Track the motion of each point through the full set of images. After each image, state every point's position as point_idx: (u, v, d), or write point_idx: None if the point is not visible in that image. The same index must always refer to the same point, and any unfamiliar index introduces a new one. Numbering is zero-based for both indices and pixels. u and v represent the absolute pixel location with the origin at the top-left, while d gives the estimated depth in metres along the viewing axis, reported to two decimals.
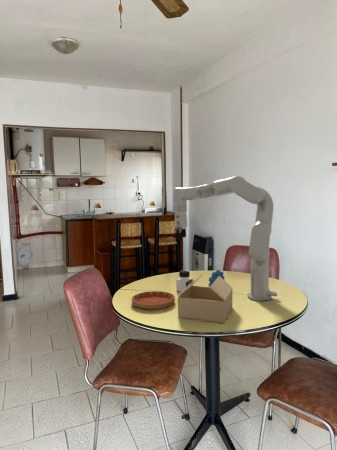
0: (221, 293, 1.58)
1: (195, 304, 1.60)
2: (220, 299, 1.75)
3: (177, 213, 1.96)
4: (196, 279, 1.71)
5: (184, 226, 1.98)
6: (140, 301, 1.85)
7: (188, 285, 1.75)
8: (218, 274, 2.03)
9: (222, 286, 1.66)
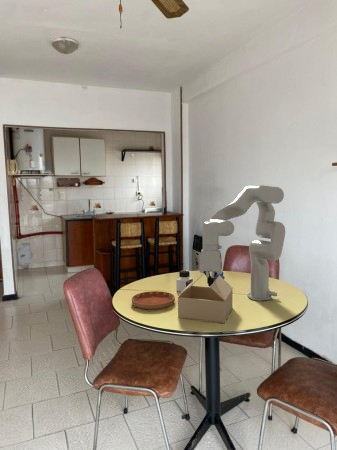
0: (221, 293, 1.58)
1: (195, 304, 1.60)
2: (220, 299, 1.75)
3: (219, 252, 1.63)
4: (196, 279, 1.71)
5: None
6: (140, 301, 1.85)
7: (188, 285, 1.75)
8: (218, 274, 2.03)
9: (222, 286, 1.65)
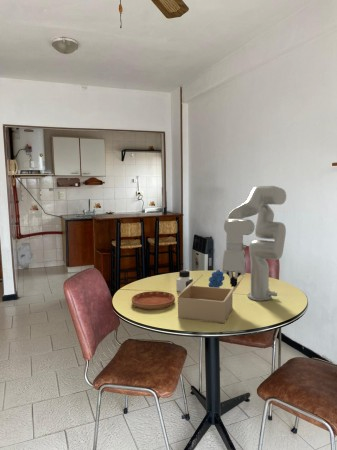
0: (230, 294, 1.57)
1: (195, 304, 1.60)
2: (220, 299, 1.75)
3: (244, 252, 1.58)
4: (196, 279, 1.71)
5: None
6: (140, 301, 1.85)
7: (188, 285, 1.75)
8: (218, 274, 2.03)
9: None
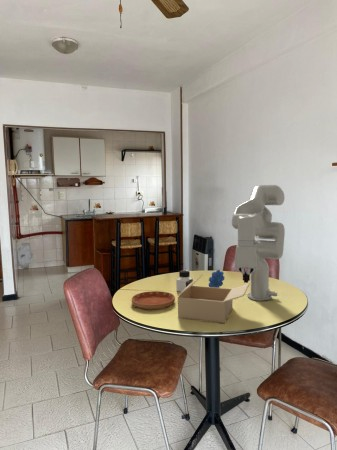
0: None
1: (195, 304, 1.60)
2: (220, 299, 1.75)
3: (256, 248, 1.57)
4: (196, 279, 1.71)
5: None
6: (140, 301, 1.85)
7: (188, 285, 1.75)
8: (218, 274, 2.03)
9: None
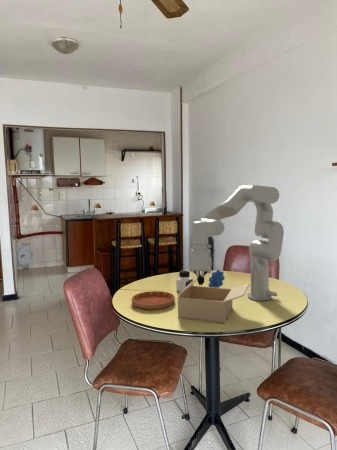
0: None
1: (195, 304, 1.60)
2: (220, 299, 1.75)
3: (209, 251, 1.64)
4: None
5: None
6: (140, 301, 1.85)
7: (188, 285, 1.75)
8: (218, 274, 2.03)
9: None
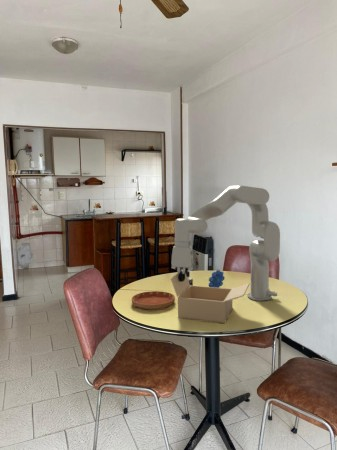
0: None
1: (195, 304, 1.60)
2: (220, 299, 1.75)
3: (191, 249, 1.67)
4: None
5: None
6: (140, 301, 1.85)
7: None
8: (218, 274, 2.03)
9: None
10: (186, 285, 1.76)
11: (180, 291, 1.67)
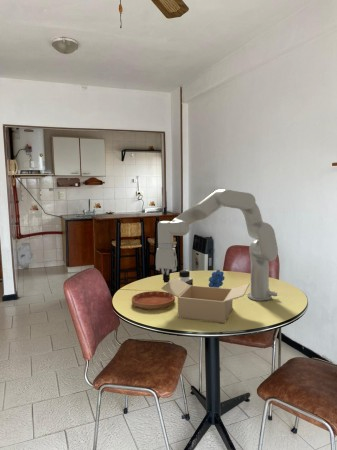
0: None
1: (195, 304, 1.60)
2: (220, 299, 1.75)
3: (174, 250, 1.71)
4: None
5: None
6: (140, 301, 1.85)
7: None
8: (218, 274, 2.03)
9: None
10: (185, 286, 1.76)
11: (179, 292, 1.67)
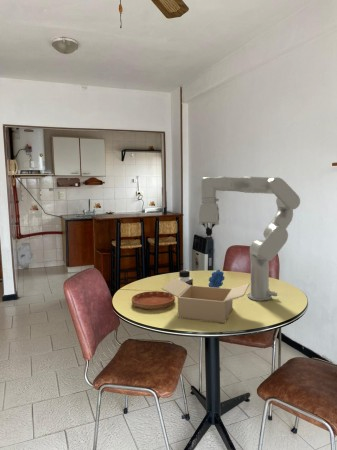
0: None
1: (195, 304, 1.60)
2: (220, 299, 1.75)
3: (217, 205, 1.80)
4: None
5: None
6: (140, 301, 1.85)
7: None
8: (218, 274, 2.03)
9: None
10: (185, 286, 1.76)
11: (179, 292, 1.67)
